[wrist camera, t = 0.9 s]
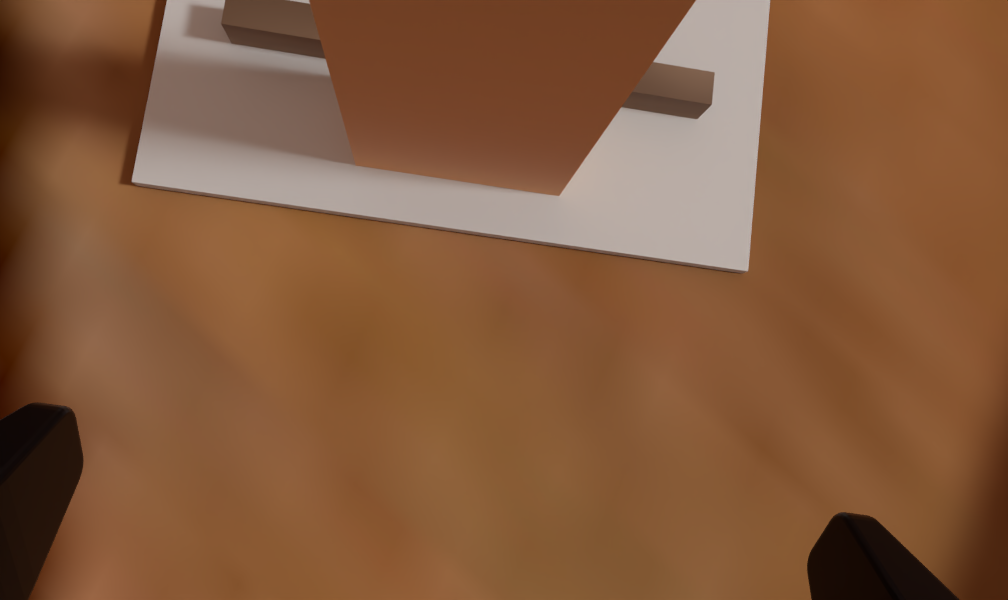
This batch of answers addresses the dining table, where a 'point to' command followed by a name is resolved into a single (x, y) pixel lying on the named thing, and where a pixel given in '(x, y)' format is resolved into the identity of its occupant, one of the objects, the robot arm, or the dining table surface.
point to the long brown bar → (291, 28)
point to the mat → (455, 204)
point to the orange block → (487, 81)
